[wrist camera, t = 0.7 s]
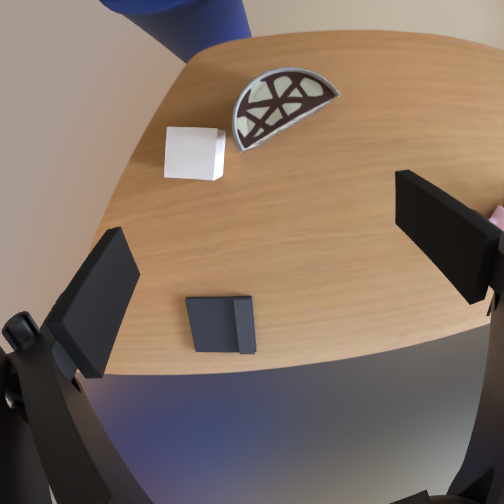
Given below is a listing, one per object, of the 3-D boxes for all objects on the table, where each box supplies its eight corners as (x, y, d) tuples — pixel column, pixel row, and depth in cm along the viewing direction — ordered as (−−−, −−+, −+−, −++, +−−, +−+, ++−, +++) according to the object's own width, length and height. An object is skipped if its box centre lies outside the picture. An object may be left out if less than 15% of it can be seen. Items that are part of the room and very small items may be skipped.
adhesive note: (179, 172, 41) (163, 177, 35) (182, 128, 39) (166, 126, 33) (222, 175, 40) (213, 180, 35) (226, 130, 38) (217, 128, 33)
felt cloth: (186, 297, 47) (184, 300, 46) (251, 295, 46) (251, 299, 45) (196, 349, 50) (195, 353, 49) (256, 350, 49) (255, 354, 48)
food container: (302, 66, 35) (310, 43, 25) (328, 105, 36) (344, 92, 27) (222, 113, 38) (204, 103, 28) (247, 152, 39) (238, 153, 30)
